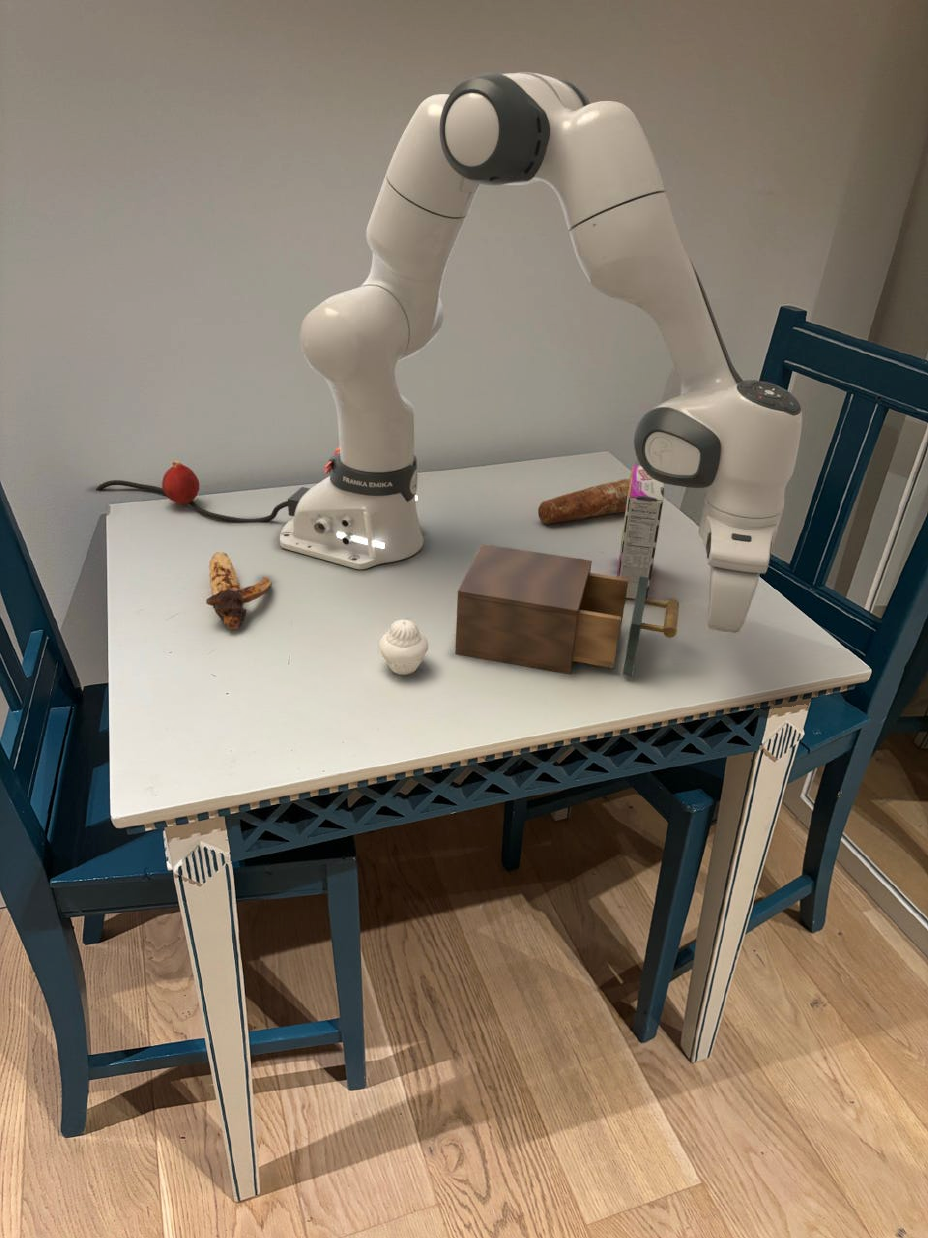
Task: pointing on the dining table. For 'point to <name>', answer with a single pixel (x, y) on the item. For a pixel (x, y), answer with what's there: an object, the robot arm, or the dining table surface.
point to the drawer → (615, 620)
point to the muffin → (403, 647)
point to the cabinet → (521, 607)
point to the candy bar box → (640, 529)
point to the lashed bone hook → (231, 591)
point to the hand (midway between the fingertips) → (716, 623)
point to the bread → (586, 503)
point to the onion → (180, 484)
